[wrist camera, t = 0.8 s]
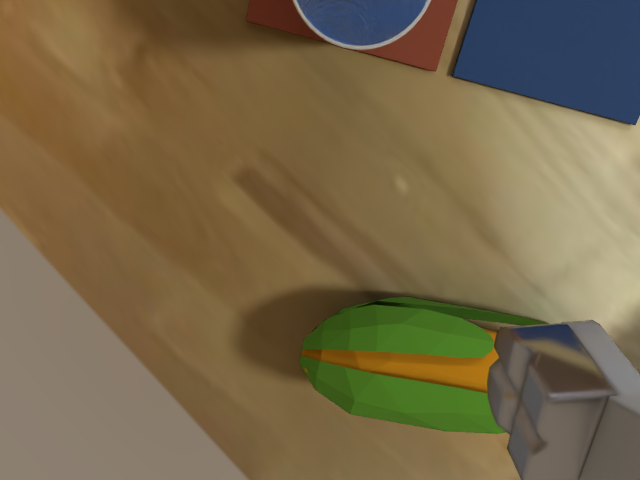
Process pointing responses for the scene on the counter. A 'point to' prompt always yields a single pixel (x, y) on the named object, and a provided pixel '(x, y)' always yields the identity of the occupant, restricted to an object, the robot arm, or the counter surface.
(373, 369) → the corn
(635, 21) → the blue mat
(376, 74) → the counter surface
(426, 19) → the terracotta mat
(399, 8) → the blue canister
